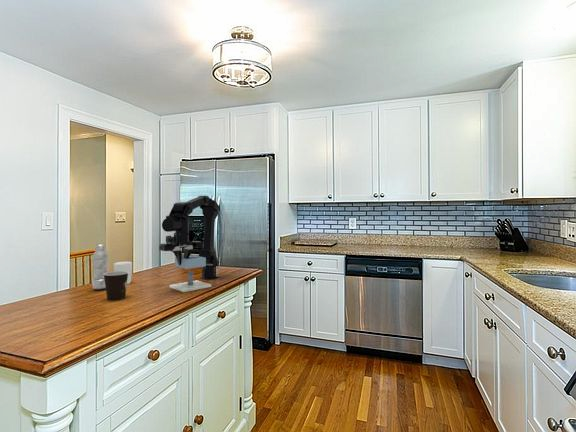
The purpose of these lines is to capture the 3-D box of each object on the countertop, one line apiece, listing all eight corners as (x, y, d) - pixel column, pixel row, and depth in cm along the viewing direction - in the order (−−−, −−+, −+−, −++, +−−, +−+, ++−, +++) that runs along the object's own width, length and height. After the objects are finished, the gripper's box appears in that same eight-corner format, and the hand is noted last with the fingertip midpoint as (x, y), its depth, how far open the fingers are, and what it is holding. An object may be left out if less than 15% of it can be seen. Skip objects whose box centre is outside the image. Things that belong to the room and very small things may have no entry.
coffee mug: (117, 301, 121) (117, 276, 121) (98, 300, 123) (98, 275, 123) (137, 294, 133) (137, 270, 133) (120, 293, 134) (119, 269, 134)
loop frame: (194, 263, 152) (194, 255, 152) (205, 266, 145) (205, 257, 145) (174, 266, 145) (175, 257, 145) (185, 268, 138) (185, 259, 138)
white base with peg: (196, 282, 155) (196, 268, 155) (211, 286, 146) (211, 271, 146) (169, 287, 145) (169, 272, 145) (183, 292, 136) (183, 276, 136)
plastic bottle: (112, 287, 144) (112, 243, 144) (102, 291, 137) (102, 245, 137) (99, 287, 145) (99, 243, 144) (88, 290, 138) (88, 245, 138)
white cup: (126, 285, 148) (126, 264, 148) (110, 285, 149) (110, 264, 148) (135, 281, 156) (135, 261, 156) (119, 281, 156) (119, 261, 156)
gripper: (191, 228, 154) (192, 260, 155) (153, 230, 141) (154, 265, 141) (204, 229, 147) (204, 263, 147) (165, 231, 133) (165, 268, 134)
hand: (182, 264), depth 142 cm, fingers closed on loop frame, 2 cm apart
